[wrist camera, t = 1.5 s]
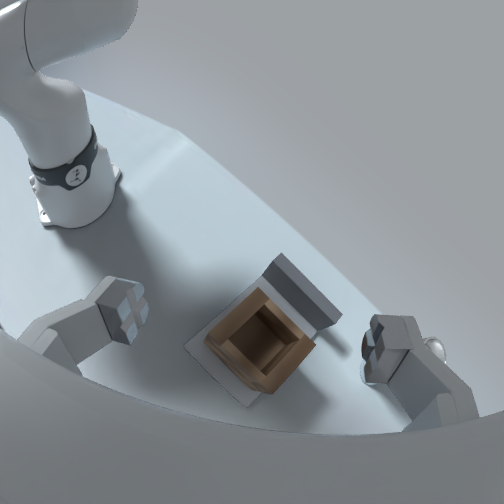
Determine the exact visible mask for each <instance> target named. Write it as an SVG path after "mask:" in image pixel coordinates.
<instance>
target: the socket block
mask: <svg viewBox="0 0 504 504" xmlns="http://www.w3.org/2000/svg"><path fill="white" fill-rule="evenodd" d="M203 343H204V344H205V345H206V346H207V347H208V348H209V349H210V350H211V351H212V352H213V353H214V354H215V355H216V356H217V357H218V358H219V359H220V360H221V361H222V362H223V363H224V364H225V365H226V366H227V367H228V368H229V369H230V370H231V371H232V372H233V373H234V374H235V375H236V376H237V377H238V378H239V379H240V380H241V381H242V382H243V383H245V384H246V385H247V386H248V387H249V388H250V389H251V390H254V391H258V392H263V393H269V394H273V393H274V392H275V391H276V390H277V389H278V388H279V387H280V386H281V385H282V383H283V382H284V381H285V380H286V379H287V378H288V377H289V376H290V375H291V374H292V372H293V371H294V370H295V369H296V368H297V367H298V366H299V364H300V363H301V362H302V361H303V360H304V359H305V358H306V356H307V355H308V354H309V353H310V352H311V350H312V349H313V348H314V347H315V346H316V344H315V343H314V342H313V341H312V340H311V339H310V338H309V337H308V336H307V335H306V334H305V333H304V332H303V331H302V330H301V329H300V328H299V327H298V326H297V325H296V324H295V323H294V322H293V321H292V320H291V319H290V318H289V317H288V316H287V315H286V314H285V313H284V312H283V311H282V310H281V309H280V308H279V307H278V306H277V305H276V304H275V303H274V302H273V301H272V300H271V299H270V298H269V297H268V296H267V295H266V294H265V293H264V292H263V291H262V290H261V289H260V288H259V287H257V288H256V289H255V290H254V291H253V292H252V293H251V294H250V295H249V296H248V297H246V298H245V299H244V300H243V301H242V302H241V303H240V304H239V305H238V306H237V307H236V308H235V309H233V310H232V311H231V312H230V313H229V314H228V315H227V316H226V317H225V318H224V319H222V320H221V321H220V322H219V323H218V324H217V325H216V326H215V327H214V328H213V329H211V330H210V331H209V332H208V334H207V336H206V338H205V339H204V341H203Z"/></svg>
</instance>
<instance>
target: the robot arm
mask: <svg viewBox="0 0 504 504" xmlns="http://www.w3.org/2000/svg"><path fill="white" fill-rule="evenodd" d="M137 8H138V0H20V1H18V2H16V3H14V4H11V5H9V6H7V7H5V8H3V9H2V10H0V115H1V116H2V117H3V118H5V119H6V120H7V121H8V122H9V123H10V125H11V126H12V127H13V128H14V130H15V131H16V133H17V135H18V137H19V139H20V141H21V143H22V145H23V146H24V148H25V150H26V152H27V154H28V157H29V165H30V168H31V171H32V173H33V175H31V176H30V177H29V180H30V183H31V185H32V189H33V192H34V193H35V194H36V199H37V206H38V211H39V217H40V221H41V223H42V225H43V226H51V225H59V226H61V227H65V228H78V227H82V226H85V225H87V224H89V223H91V222H93V221H94V220H96V219H97V218H98V217H100V216H101V215H102V214H103V213H104V212H105V211H106V209H107V208H108V207H109V205H110V203H111V201H112V199H113V196H114V191H115V184H116V181H117V180H118V178H119V176H120V174H121V171H120V168H119V167H118V166H117V165H115V164H114V163H113V162H111V161H110V158H109V155H108V152H107V149H106V147H103V146H102V145H101V144H99V143H97V136H96V133H95V131H94V128H93V126H92V125H91V124H90V120H89V115H88V110H87V104H86V99H85V94H84V92H83V91H82V89H81V88H80V87H79V86H78V85H76V84H75V83H73V82H71V81H69V80H65V79H55V78H50V77H47V76H45V75H43V74H41V73H40V72H39V71H38V70H41V69H43V68H46V67H48V66H51V65H53V64H56V63H59V62H62V61H65V60H68V59H70V58H73V57H77V56H80V55H83V54H86V53H89V52H91V51H93V50H95V49H97V48H100V47H102V46H104V45H107V44H109V43H111V42H114V41H116V40H119V39H120V38H121V37H122V36H123V35H124V34H125V33H126V32H127V30H128V29H129V28H130V26H131V24H132V22H133V21H134V18H135V16H136V12H137ZM44 214H45V215H44ZM144 293H145V290H144V286H143V284H142V283H140V282H136V281H131V280H127V279H123V278H117V277H113V276H106V277H105V278H104V279H103V280H102V281H101V282H100V283H99V284H98V285H97V286H96V287H95V288H94V290H93V291H92V292H91V293H90V294H89V295H88V296H87V297H86V298H85V299H84V300H83V299H80V300H78V301H76V302H73V303H71V304H69V305H67V306H64V307H62V308H60V309H57V310H55V311H53V312H51V313H48V314H46V315H44V316H42V317H39V318H37V319H35V320H34V321H33V322H32V323H31V324H30V325H29V326H28V328H27V329H26V330H25V331H24V332H23V333H22V335H21V336H20V337H19V338H18V339H17V340H16V339H15V338H13V337H12V336H10V335H9V334H7V333H6V332H4V331H3V330H2V329H0V504H504V411H501V412H498V413H495V414H492V415H488V416H485V417H481V418H480V417H479V414H478V410H477V406H476V403H475V400H474V397H473V393H472V390H471V388H469V386H468V385H467V384H466V383H465V382H464V381H463V380H461V379H460V378H459V377H458V376H457V375H456V374H455V373H454V372H453V371H452V370H451V369H450V368H449V367H448V366H447V365H446V364H445V363H444V362H442V361H441V360H440V359H439V358H438V357H437V356H436V355H435V354H434V353H433V352H432V351H431V350H426V347H425V344H424V341H423V339H422V336H421V333H420V330H419V328H418V325H417V322H416V320H415V318H414V317H413V316H393V315H377V314H374V315H373V317H372V318H371V321H370V327H371V328H370V329H369V330H368V331H366V332H365V335H364V337H363V341H362V358H363V359H364V360H365V361H366V364H365V366H364V375H365V383H385V384H387V385H388V387H389V388H390V389H391V391H392V392H393V394H394V395H395V396H396V398H397V399H398V401H399V402H400V403H401V405H402V406H403V408H404V409H405V411H406V412H407V413H408V415H409V416H410V418H411V419H412V422H411V423H410V424H409V425H408V426H406V427H405V428H404V429H403V430H402V432H397V433H385V434H366V435H323V434H304V433H292V432H281V431H273V430H265V429H258V428H251V427H245V426H239V425H233V424H228V423H223V422H218V421H213V420H209V419H204V418H200V417H196V416H192V415H188V414H184V413H181V412H177V411H174V410H170V409H167V408H163V407H160V406H157V405H154V404H151V403H148V402H145V401H142V400H139V399H136V398H133V397H131V396H128V395H125V394H123V393H120V392H117V391H115V390H112V389H110V388H108V387H105V386H103V385H100V384H98V383H96V382H94V381H91V380H89V379H87V378H85V377H83V376H82V373H81V371H80V370H79V368H78V367H77V364H79V363H80V362H82V361H83V360H85V359H86V358H88V357H89V356H91V355H92V354H94V353H95V352H97V351H98V350H100V349H101V348H103V347H104V346H106V345H107V344H109V343H110V342H112V340H113V341H116V342H120V343H123V344H127V345H131V344H132V342H133V341H134V339H135V338H136V336H137V334H138V329H137V328H138V327H140V326H142V325H144V323H145V321H146V320H147V316H148V313H149V306H148V302H147V300H146V299H145V298H144V297H143V294H144Z"/></svg>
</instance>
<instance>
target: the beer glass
mask: <svg viewBox="0 0 504 504" xmlns="http://www.w3.org/2000/svg"><path fill="white" fill-rule="evenodd" d="M423 341H424V344H425V347H426V350H431V351H432V352H433V353H434V354H435V355H436V356H437V357H438V358H439V359H440V360H441V361H442V362H444V363H445V364H446V353H445V349H444V346H443V344H442V342H441V341H440V340H439V339H438V338H436V337H429V338H424V339H423ZM365 364H366V361H365V360H364V359H363V360H362V362H361V365H360V376H361V379H362V380H363V382H364V383H365V375H364V366H365ZM365 384H367V385H370V386H374V385H378V384H381V383H365Z"/></svg>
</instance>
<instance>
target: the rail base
mask: <svg viewBox="0 0 504 504" xmlns="http://www.w3.org/2000/svg"><path fill="white" fill-rule="evenodd" d="M257 287H259V288H260V289H261V290H262V291H263V292H264V293H265V294H266V295H267V296H268V297H269V298H270V299H271V300H272V301H273V302H274V303H275V304H276V305H277V306H278V307H279V308H280V309H281V310H282V311H283V312H284V313H285V314H286V315H287V316H288V317H289V318H290V319H291V320H292V321H293V322H294V323H295V324H296V325H297V326H298V327H299V328H300V329H301V330H302V331H303V332H304V333H305V334H306V335H307V336H308V337H309V338H310V339H311V338H312V337H313V336H314V335H315V333H316V332H317V331H319V330H322V329H324V328H327V327H329V326H332V325H334V324H336V323H337V321H338V320H339V319H340V317H341V316H342V315H343V314H342V313H341V312H340V311H339V310H338V309H337V308H336V307H335V306H334V305H333V304H332V303H331V302H330V301H329V300H328V299H327V298H326V297H325V296H324V295H323V294H322V293H321V292H320V291H319V290H318V289H317V288H316V287H315V286H314V285H313V284H312V283H311V282H310V281H309V280H308V279H307V278H306V277H305V276H304V275H303V274H302V273H301V272H300V271H299V270H298V269H297V268H296V267H295V266H294V265H293V264H292V263H291V262H290V261H289V260H288V259H287V258H286V257H285V256H284V255H283V254H282V253H281V254H279V255H278V256H277V257H276V258H275V259H274V260H273V261H272V262H271V264H270V265H269V266H268V268H267V269H266V270H265V272H264V273H263V274H262V276H260V277H259V278H258V279H257V280H256V281H255V282H254V283H253V284H252V285H251V286H250V287H248V288H247V289H246V290H245V291H244V292H243V293H242V294H241V295H240V296H239V297H237V298H236V299H235V300H234V301H233V302H232V303H231V304H230V305H229V306H228V307H226V308H225V309H224V310H223V311H222V312H221V313H220V314H219V315H218V316H216V317H215V318H214V319H213V320H212V321H211V322H210V323H209V324H207V325H206V326H205V327H204V328H203V329H202V330H201V331H200V332H198V333H197V334H196V335H195V336H194V337H193V338H192V339H190V340H189V341H188V342H187V343H186V344H185V345H184V347H185V349H186V350H187V351H188V352H189V353H190V354H191V355H192V356H193V357H194V358H195V359H196V360H197V361H198V362H199V363H200V364H201V365H202V366H203V367H204V368H205V369H206V371H207V372H208V373H209V374H210V375H211V376H212V377H213V378H214V379H216V380H217V381H218V382H219V383H220V384H221V385H222V386H223V387H224V388H225V389H226V390H227V391H228V392H229V393H230V394H231V395H232V396H233V397H234V398H235V399H237V400H238V401H239V402H240V403H241V404H242V405H243V406H244V407H245V408H247V407H248V406H249V405H250V404H251V403H252V402H253V401H254V400H255V399H256V398H257V397H258V396H259V395H260V394H261V393H262V392H258V391H254V390H251V389H250V388H249V387H248V386H247V385H246V384H245V383H243V382H242V381H241V380H240V379H239V378H238V377H237V376H236V375H235V374H234V373H233V372H232V371H231V370H230V369H229V368H228V367H227V366H226V365H225V364H224V363H223V362H222V361H221V360H220V359H219V358H218V357H217V356H216V355H215V354H214V353H213V352H212V351H211V350H210V349H209V348H208V347H207V346H206V345H205V344H204V343H203V341H204V339H205V338H206V336H207V334H208V332H209V331H210V330H211V329H213V328H214V327H215V326H216V325H217V324H218V323H219V322H220V321H221V320H222V319H224V318H225V317H226V316H227V315H228V314H229V313H230V312H231V311H232V310H233V309H235V308H236V307H237V306H238V305H239V304H240V303H241V302H242V301H243V300H244V299H245V298H246V297H248V296H249V295H250V294H251V293H252V292H253V291H254V290H255V289H256V288H257Z"/></svg>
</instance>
